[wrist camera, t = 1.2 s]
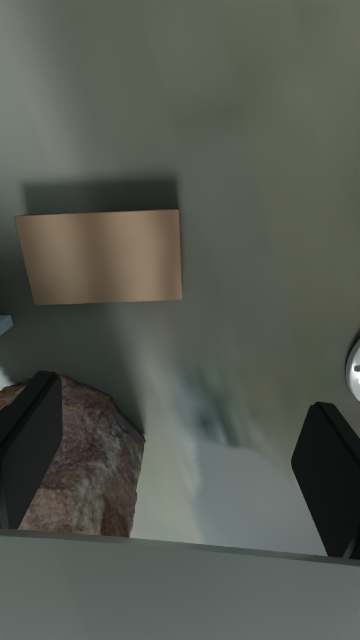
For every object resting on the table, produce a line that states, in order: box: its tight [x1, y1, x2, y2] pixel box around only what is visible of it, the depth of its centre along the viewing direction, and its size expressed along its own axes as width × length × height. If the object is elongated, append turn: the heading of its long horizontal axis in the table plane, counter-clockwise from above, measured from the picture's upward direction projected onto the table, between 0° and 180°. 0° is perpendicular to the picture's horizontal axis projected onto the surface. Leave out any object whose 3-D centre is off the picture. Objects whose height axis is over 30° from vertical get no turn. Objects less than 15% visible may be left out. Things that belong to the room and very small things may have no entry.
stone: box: [0, 375, 146, 538], centre depth 27 cm, size 19×11×20 cm, turn 64°
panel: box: [14, 209, 182, 305], centre depth 28 cm, size 14×8×3 cm, turn 92°
